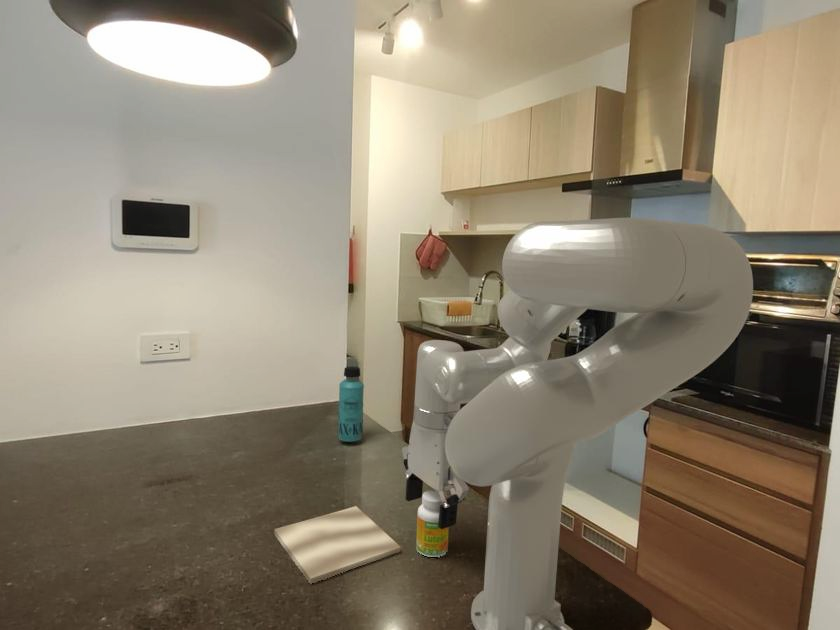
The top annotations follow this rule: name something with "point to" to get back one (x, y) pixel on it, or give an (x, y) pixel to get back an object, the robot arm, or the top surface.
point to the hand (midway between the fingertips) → (429, 512)
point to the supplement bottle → (431, 527)
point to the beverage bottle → (350, 406)
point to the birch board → (335, 543)
